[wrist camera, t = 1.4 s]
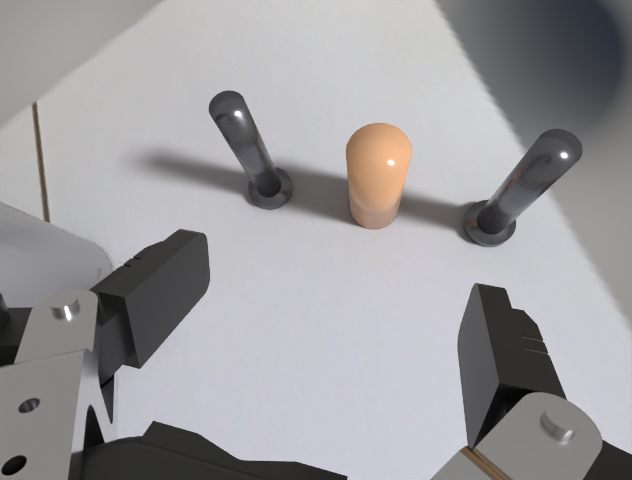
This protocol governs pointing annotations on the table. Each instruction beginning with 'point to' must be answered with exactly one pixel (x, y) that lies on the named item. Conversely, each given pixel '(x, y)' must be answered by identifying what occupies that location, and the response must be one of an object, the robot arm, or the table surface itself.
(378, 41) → the table surface
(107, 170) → the table surface
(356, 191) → the canister
